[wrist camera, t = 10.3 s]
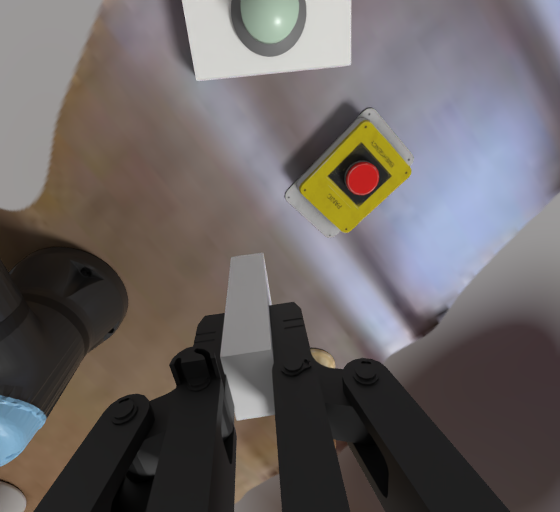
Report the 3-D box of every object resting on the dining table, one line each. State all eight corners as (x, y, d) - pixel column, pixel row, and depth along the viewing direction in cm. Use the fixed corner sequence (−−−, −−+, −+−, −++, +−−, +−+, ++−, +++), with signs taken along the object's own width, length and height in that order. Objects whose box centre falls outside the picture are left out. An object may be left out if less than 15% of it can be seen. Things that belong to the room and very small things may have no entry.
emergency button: (430, 165, 39) (335, 252, 43) (414, 158, 43) (329, 239, 47) (381, 105, 36) (283, 205, 40) (368, 103, 40) (281, 195, 44)
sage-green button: (245, 47, 33) (244, 44, 31) (237, -20, 31) (236, -27, 29) (298, 41, 33) (300, 38, 31) (294, -25, 31) (296, -33, 29)
